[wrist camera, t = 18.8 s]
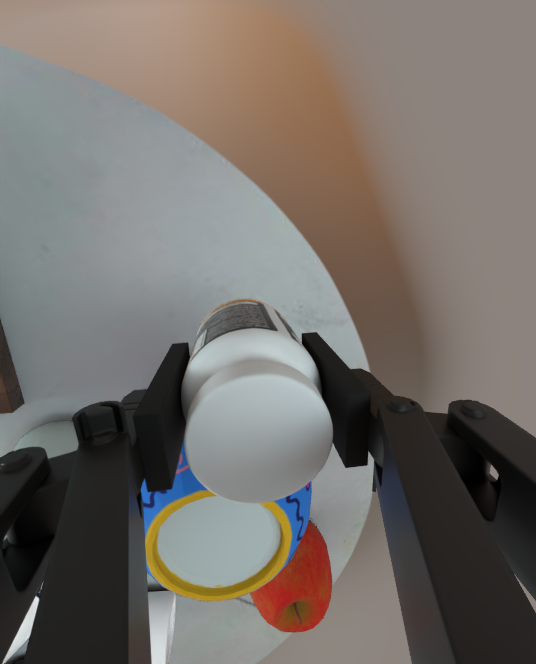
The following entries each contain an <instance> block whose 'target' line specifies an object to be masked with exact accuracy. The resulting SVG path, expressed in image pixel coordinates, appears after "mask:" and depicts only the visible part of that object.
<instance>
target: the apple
mask: <svg viewBox="0 0 536 664" xmlns="http://www.w3.org/2000/svg"><path fill="white" fill-rule="evenodd" d="M331 589H332V575H331V567H330V560H329V555H328V550H327V546H326V543H325V541H324V539H323V536H322V535H321V533H320V532H319V530H318V529H317V527H316V526H315V525H314V524H313V523H311V522H310V521H308V524H307V527H306V530H305V533H304V535H303V537H302V539H301V541H300V543H299V545H298V547H297V549H296V551H295V554H294V556H293V558H292V559H291V560H290V562H289V563H288V564H287V565H286V566H285V567H284V568H283V569H282V570H281V571H280V572H279V573H278V574H277V575H276V576H275V577H274V579H273V580H271V581H270V582H268V583H267V584H265V585H263V586H262V587H260V588H259V589H257V590H256V591H253V592H251V593H250V595H251V597H252V599H253V601H254V604H255V605H256V607H257V609H258V610H259V612H260V614H261V616H262V617H263V618H264V619H265V620H266V621H267V622H268V623H269V624H270V625H272V626H273V627H275V628H277V629H278V630H280V631H284V632H303V631H307V630H310V629H312V628H314V627H315V626H316V625H317V624H318V623H319V622H320V621H321V620H322V619H323V618H324V615H325V613H326V611H327V609H328V606H329V602H330V599H331Z"/></svg>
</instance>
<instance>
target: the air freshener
mask: <svg viewBox="0 0 536 664" xmlns="http://www.w3.org/2000/svg"><path fill="white" fill-rule="evenodd" d="M78 444H79V443H78V439H77V435H76V432H75V428H74V424H73V421H59V422H52V423H48V424H45V425H42V426H40V427H38V428H36V429H34V430H32V431H30V432H29V433H27V434H26V435H25V436H23V437H22V438H21V439H20V440H19V441H18V443H17V444H16V445H15V447H14V449H13V451H15V450H17V449H20V448H27V447H42V448H44V449H45V451H46V453H47V457H48V459H49V458H52V457H56V456H59V455H63V454H66V453H70V452H72V451H75V450H77V448H78ZM6 537H7V536H5V538H4V540H5V539H6Z"/></svg>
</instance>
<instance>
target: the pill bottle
mask: <svg viewBox="0 0 536 664" xmlns="http://www.w3.org/2000/svg"><path fill="white" fill-rule="evenodd" d="M181 404H182V410H183V414H184V417H185V420H186V428H185V435H184V448H185V455H186V459H187V462H188V465H189V467H190V469H191V471H192V473H193V474H194V476H195V477H196V479H197V480H198V481H199V482H200V483H201V484H202V485H203V486H204V487H205V488H207V489H208V490H209V491H211V492H212V493H214V494H216V495H218V496H220V497H222V498H225V499H227V500H231V501H234V502H239V503H254V504H256V503H266V502H271V501H275V500H279V499H282V498H285V497H287V496H289V495H291V494H293V493H295V492H297V491H299V490H300V489H301V488H303V487H304V486H306V485H307V484H308V483H309V482H310V481H312V480H313V479H314V478H315V476H316V475H317V474H318V473H319V472H320V471H321V469H322V468H323V466H324V465H325V463H326V461H327V458H328V456H329V454H330V451H331V447H332V441H333V425H332V420H331V417H330V414H329V411H328V409H327V407H326V404H325V403H324V401H323V399H322V386H321V380H320V375H319V371H318V369H317V367H316V364H315V362H314V360H313V359H312V357H311V355H310V354H309V353H308V351H307V350H306V349H305V347H304V346H303V345H302V343H301V342H300V340H299V339H298V338H297V336H296V335H295V333H294V332H293V330H292V329H291V327H290V326H289V325H288V323H287V322H286V320H285V319H284V318H283V317H282V316H281V314H280V313H278V312H277V311H276V310H275V309H274V308H272V307H271V306H269V305H267V304H265V303H263V302H261V301H257V300H253V299H236V300H232V301H228V302H226V303H223V304H221V305H220V306H218V307H217V308H215V309H214V310H213V311H212V312H210V313H209V314H208V315H207V317H206V318H205V319H204V321H203V322H202V324H201V326H200V328H199V331H198V334H197V336H196V340H195V343H194V346H193V350H192V353H191V356H190V359H189V363H188V366H187V369H186V371H185V375H184V378H183V381H182V387H181Z"/></svg>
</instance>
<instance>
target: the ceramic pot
mask: <svg viewBox="0 0 536 664" xmlns="http://www.w3.org/2000/svg"><path fill="white" fill-rule="evenodd" d="M311 492H312V489H311V481H310V482H309V483H308V484H307V485H306V486H304V487H303V488H301V489H300V490H299V491H297V492H295V493H293V494H291V495H289V496H287V497H285V498H282V499H279V500H275V501H271V502H266V503H256V504H254V503H239V502H234V501H231V500H227V499H225V498H222V497H220V496H218V495H216V494H214V493H212V492H211V491H209V490H208V489H207V488H205V487H204V486H203V485H202V484H201V483H200V482H199V481H198V480H197V479H196V477H195V476H194V474H193V473H192V471H191V469H190V467H189V465H188V462H187V459H186V455H185V448H184V440H183V444H182V449H181V453H180V457H179V462H178V466H177V470H176V475H175V479H174V483H173V488H172V489H171V490H163V491H155V492H147V487H146V482H145V479H144V482H143V484H142V487H141V494H142V499H143V510H144V529H145V547H146V566H147V572H148V573H149V574H150V575H151V576H152V577H153V578H154V579H155V580H156V581H157V582H158V583H159V584H160V585H161V586H162V587H164V588H166V589H168V590H170V591H172V592H174V593H175V594H177V595H179V596H182V597H187V598H191V599H195V600H200V601H221V600H229V599H234V598H237V597H240V596H243V595H245V594H248V593H251V592H253V591H256V590H257V589H259V588H260V587H262V586H263V585H265V584H267V583H268V582H270V581H271V580H273V579H274V577H275V576H276V575H277V574H278V573H279V572H280V571H281V570H282V569H283V568H284V567H285V566H286V565H287V564H288V563H289V562H290V560H291V559H292V558H293V556H294V554H295V551H296V549H297V547H298V545H299V543H300V541H301V539H302V537H303V535H304V533H305V530H306V527H307V524H308V521H309V514H310V504H311Z"/></svg>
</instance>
